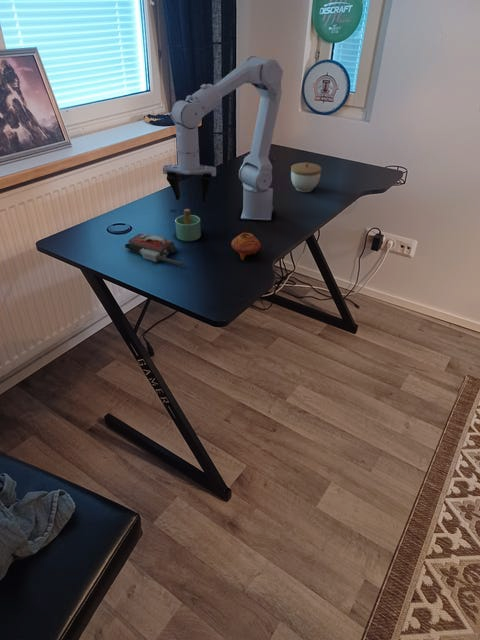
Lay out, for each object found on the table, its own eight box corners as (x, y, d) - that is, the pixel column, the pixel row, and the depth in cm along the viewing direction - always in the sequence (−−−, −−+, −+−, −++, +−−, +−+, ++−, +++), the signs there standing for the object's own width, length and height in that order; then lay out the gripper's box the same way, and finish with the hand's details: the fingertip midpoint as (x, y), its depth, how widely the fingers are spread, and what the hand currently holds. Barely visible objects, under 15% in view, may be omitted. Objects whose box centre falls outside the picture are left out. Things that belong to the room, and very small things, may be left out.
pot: (223, 255, 124) (226, 231, 121) (243, 252, 130) (246, 228, 127) (245, 264, 120) (249, 239, 117) (264, 260, 125) (268, 236, 122)
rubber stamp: (196, 230, 136) (194, 206, 132) (196, 237, 133) (195, 212, 128) (180, 231, 136) (178, 207, 131) (180, 237, 132) (178, 213, 128)
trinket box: (315, 196, 160) (318, 169, 154) (286, 192, 163) (287, 165, 157) (322, 185, 168) (325, 159, 162) (293, 182, 171) (295, 156, 165)
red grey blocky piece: (120, 253, 126) (181, 270, 118) (117, 239, 123) (180, 255, 116) (139, 240, 132) (198, 256, 125) (137, 226, 129) (198, 241, 122)
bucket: (202, 230, 137) (202, 215, 134) (198, 241, 131) (197, 225, 128) (179, 229, 138) (178, 214, 135) (174, 240, 132) (172, 224, 129)
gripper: (157, 154, 119) (162, 203, 127) (212, 156, 118) (214, 206, 126) (164, 146, 125) (168, 194, 133) (216, 148, 124) (218, 196, 132)
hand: (191, 199), depth 130 cm, fingers open, 7 cm apart
